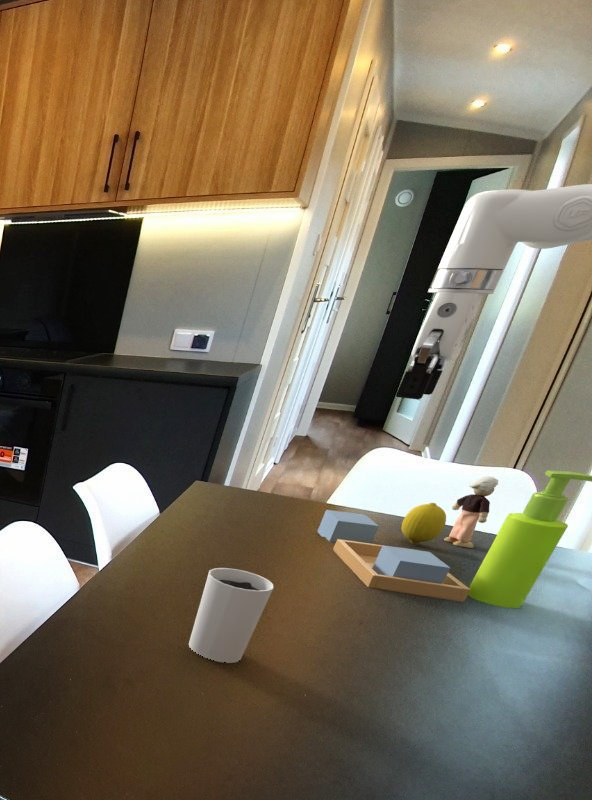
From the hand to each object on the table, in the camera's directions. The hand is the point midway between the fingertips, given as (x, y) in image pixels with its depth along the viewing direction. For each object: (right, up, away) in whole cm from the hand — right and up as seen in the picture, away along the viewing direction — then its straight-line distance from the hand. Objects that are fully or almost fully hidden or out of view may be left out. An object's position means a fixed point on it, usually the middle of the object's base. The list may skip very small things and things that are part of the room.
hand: (413, 395), depth 106 cm
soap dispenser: (+2, -35, -11) cm, 36 cm away
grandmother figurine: (+20, -24, +13) cm, 34 cm away
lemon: (+11, -24, +11) cm, 29 cm away
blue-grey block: (-8, -31, -6) cm, 33 cm away
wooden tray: (-6, -30, -3) cm, 31 cm away
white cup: (-51, -40, -26) cm, 70 cm away
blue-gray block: (-2, -23, +12) cm, 26 cm away
